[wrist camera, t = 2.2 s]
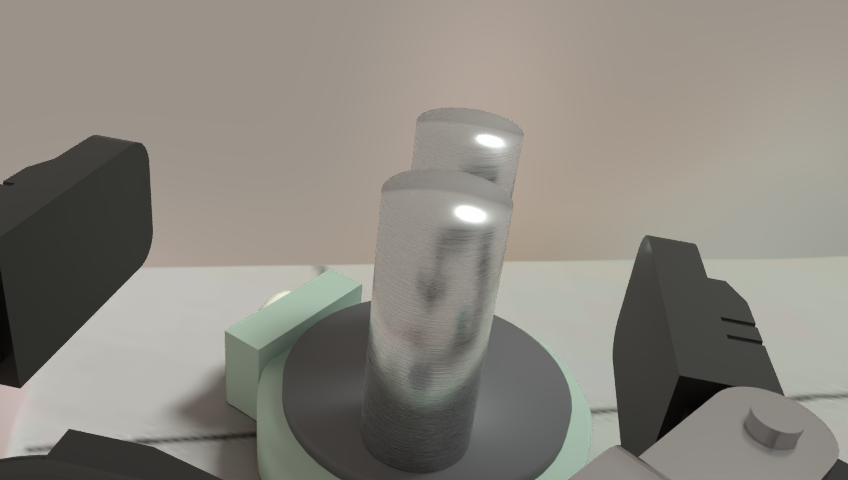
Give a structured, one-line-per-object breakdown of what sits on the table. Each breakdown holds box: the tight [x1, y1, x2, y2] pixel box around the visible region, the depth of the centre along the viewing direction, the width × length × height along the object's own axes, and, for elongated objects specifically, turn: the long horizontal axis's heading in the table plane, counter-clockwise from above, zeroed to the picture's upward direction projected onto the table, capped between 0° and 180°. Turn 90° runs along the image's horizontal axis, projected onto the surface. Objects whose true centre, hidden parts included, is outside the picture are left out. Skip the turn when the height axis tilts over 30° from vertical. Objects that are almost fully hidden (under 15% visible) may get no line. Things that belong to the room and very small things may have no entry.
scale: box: [225, 269, 592, 480], centre depth 33 cm, size 16×14×4 cm
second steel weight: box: [411, 108, 523, 199], centre depth 32 cm, size 4×4×10 cm
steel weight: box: [360, 169, 513, 474], centre depth 27 cm, size 4×4×10 cm
